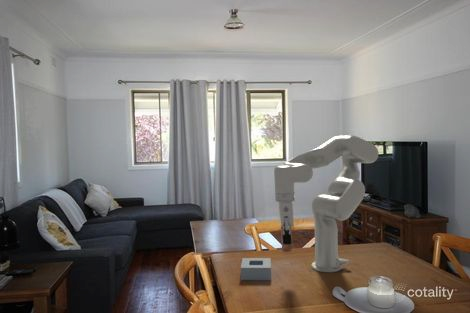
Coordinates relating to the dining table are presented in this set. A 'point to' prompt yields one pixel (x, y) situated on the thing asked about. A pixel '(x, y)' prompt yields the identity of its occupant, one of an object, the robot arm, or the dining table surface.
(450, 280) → the dining table surface
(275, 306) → the dining table surface
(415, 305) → the dining table surface
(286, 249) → the peg
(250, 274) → the socket block
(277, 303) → the dining table surface
